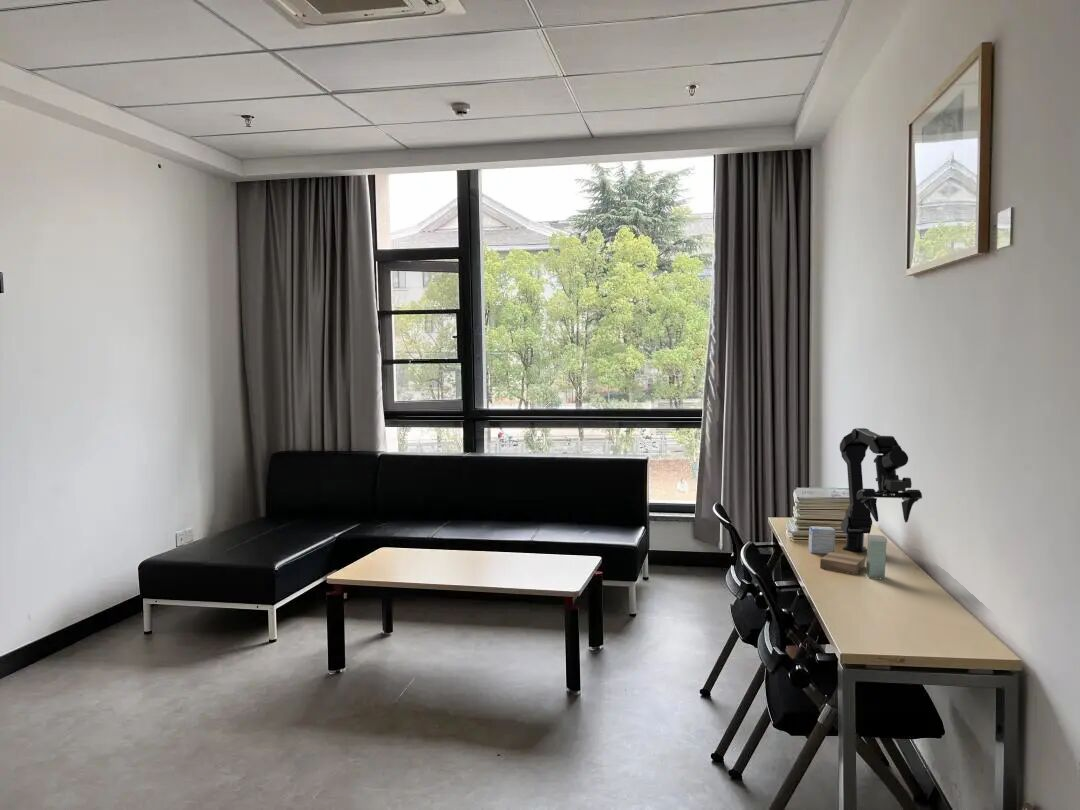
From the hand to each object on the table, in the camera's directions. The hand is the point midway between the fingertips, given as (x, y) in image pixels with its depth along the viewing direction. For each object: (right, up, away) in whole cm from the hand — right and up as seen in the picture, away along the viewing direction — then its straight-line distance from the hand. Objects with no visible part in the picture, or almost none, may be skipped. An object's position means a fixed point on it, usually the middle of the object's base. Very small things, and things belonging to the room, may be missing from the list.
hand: (891, 521), depth 244 cm
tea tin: (-6, -17, -3) cm, 18 cm away
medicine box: (-13, -15, +25) cm, 32 cm away
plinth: (-13, -16, +7) cm, 22 cm away
